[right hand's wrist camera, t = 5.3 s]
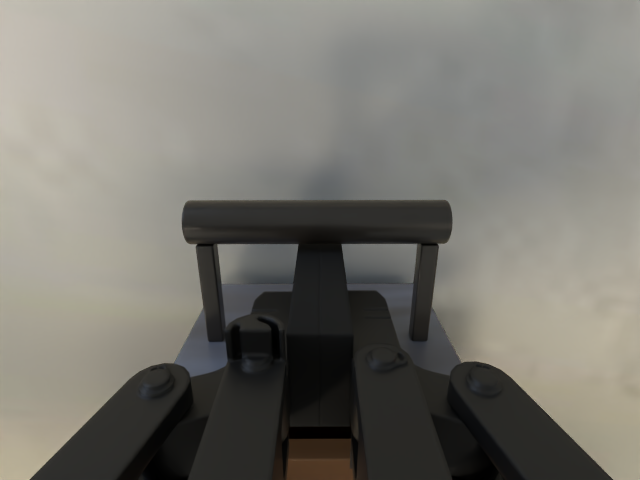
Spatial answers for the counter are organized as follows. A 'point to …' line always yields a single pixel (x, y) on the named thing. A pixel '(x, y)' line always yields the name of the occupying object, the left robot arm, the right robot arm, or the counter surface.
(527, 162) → the counter surface
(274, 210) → the drawer
